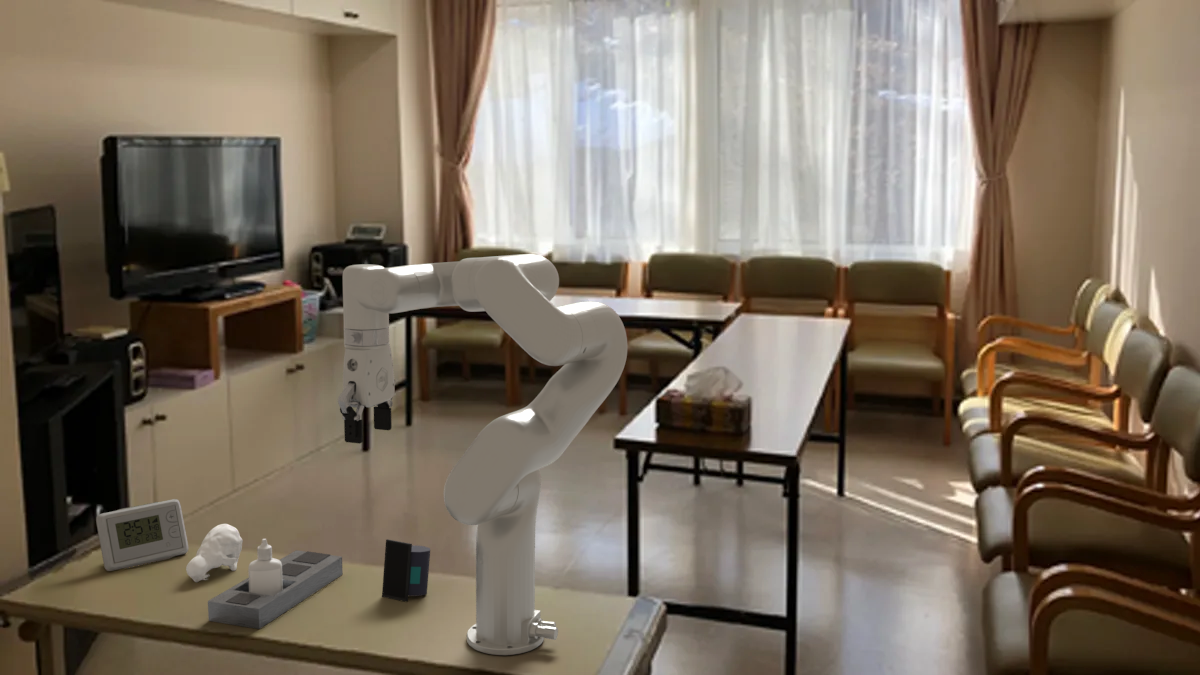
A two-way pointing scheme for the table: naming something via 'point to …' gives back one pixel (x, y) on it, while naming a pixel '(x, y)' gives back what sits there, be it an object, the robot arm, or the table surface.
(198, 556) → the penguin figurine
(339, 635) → the table surface
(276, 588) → the eye dropper bottle
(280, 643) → the table surface
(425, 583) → the speaker
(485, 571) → the robot arm
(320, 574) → the rail
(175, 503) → the digital clock
